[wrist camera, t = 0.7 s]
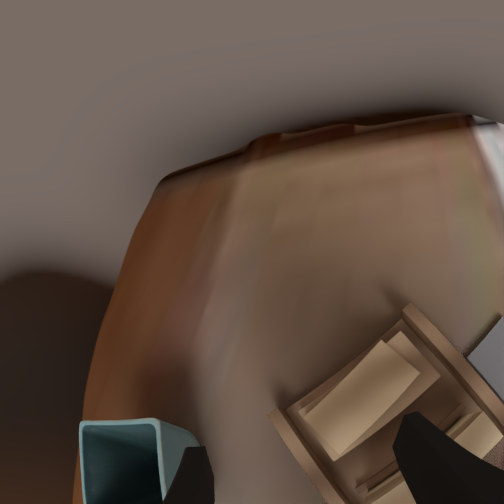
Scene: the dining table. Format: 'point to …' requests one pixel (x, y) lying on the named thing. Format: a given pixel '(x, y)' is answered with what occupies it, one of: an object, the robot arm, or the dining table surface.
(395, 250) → the dining table surface
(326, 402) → the offcut board upper
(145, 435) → the flower pot
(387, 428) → the rack
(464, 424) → the tall block
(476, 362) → the slate coaster
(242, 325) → the dining table surface
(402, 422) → the robot arm
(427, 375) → the offcut board lower
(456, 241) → the dining table surface
